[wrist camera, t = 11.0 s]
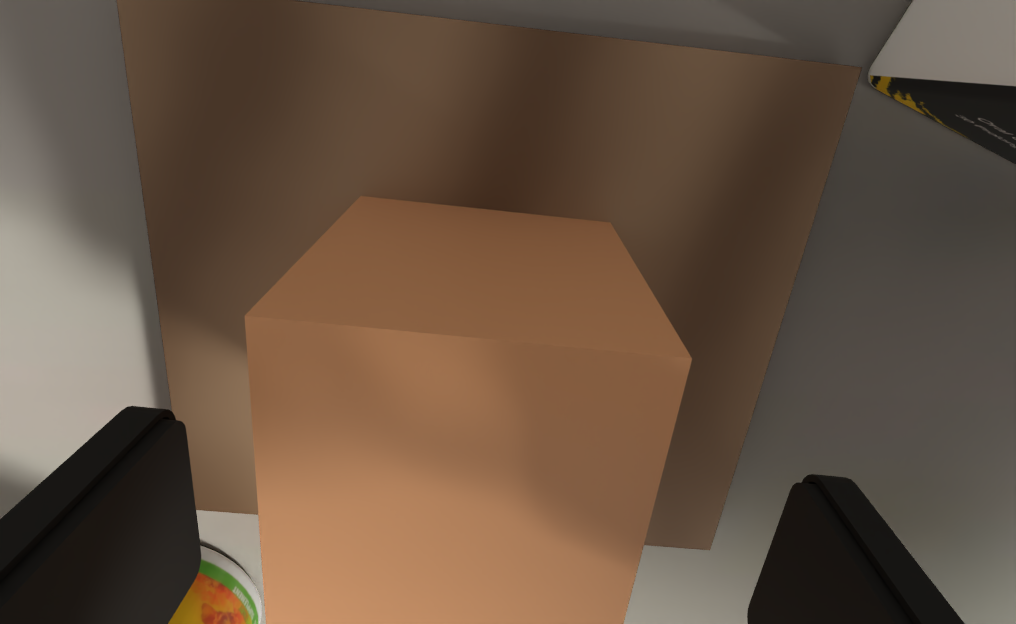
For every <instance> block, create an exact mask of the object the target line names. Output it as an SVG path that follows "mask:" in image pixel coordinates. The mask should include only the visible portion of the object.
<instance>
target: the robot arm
mask: <svg viewBox="0 0 1016 624" xmlns="http://www.w3.org/2000/svg"><path fill="white" fill-rule="evenodd" d="M200 564H201V547H200V539H199V531H198V523H197V514H196V506H195V498H194V490H193V481H192V473H191V465H190V457H189V448H188V440H187V432H186V427H185V424H184V423H183V422H182V421H178V420H176V418H175V415H174V414H173V412H172V411H170V410H166V409H156V408H146V407H136V406H130V407H126V408H125V409H123V410H122V411H121V412H120V413H118V414H117V415H116V416H115V417H114V418H113V419H112V420H111V421H109V422H108V423H107V424H106V425H105V426H104V427H103V428H102V429H101V430H99V431H98V432H97V433H96V434H95V435H94V436H93V437H92V438H91V439H89V440H88V441H87V442H86V443H85V444H84V445H83V446H82V447H80V448H79V449H78V450H77V451H76V452H75V453H74V454H73V455H72V456H70V457H69V458H68V459H67V460H66V461H65V462H64V463H63V464H61V465H60V466H59V467H58V468H57V469H56V470H55V471H54V472H53V473H51V474H50V475H49V476H48V477H47V478H46V479H45V480H44V481H43V482H41V483H40V484H39V485H38V486H37V487H36V488H35V489H34V490H32V491H31V492H30V493H29V494H28V495H27V496H26V497H25V498H24V499H22V500H21V501H20V502H19V503H18V504H17V505H16V506H15V507H13V508H12V509H11V510H10V511H9V512H8V513H7V514H6V515H5V516H3V517H2V518H1V519H0V624H168V623H169V621H170V620H171V618H172V617H173V615H174V613H175V612H176V610H177V609H178V607H179V605H180V604H181V602H182V600H183V599H184V597H185V596H186V594H187V592H188V591H189V589H190V587H191V586H192V584H193V583H194V581H195V579H196V577H197V574H198V572H199V568H200ZM747 617H748V624H964V622H963V621H962V620H961V619H960V617H959V616H958V615H957V613H956V612H955V611H954V610H953V608H952V607H951V606H950V604H949V603H948V602H947V601H946V599H945V598H944V597H943V595H942V594H941V593H940V592H939V590H938V589H937V588H936V586H935V585H934V584H933V583H932V581H931V580H930V579H929V577H928V576H927V575H926V574H925V572H924V571H923V570H922V568H921V567H920V566H919V565H918V563H917V562H916V561H915V559H914V558H913V557H912V556H911V554H910V553H909V552H908V550H907V549H906V548H905V547H904V545H903V544H902V543H901V541H900V540H899V539H898V538H897V536H896V535H895V534H894V532H893V531H892V530H891V529H890V527H889V526H888V525H887V523H886V522H885V521H884V520H883V518H882V517H881V516H880V514H879V513H878V512H877V511H876V509H875V508H874V507H873V505H872V504H871V503H870V502H869V500H868V499H867V498H866V496H865V495H864V494H863V493H862V491H861V490H860V489H859V487H858V486H857V485H856V484H855V483H854V482H853V481H852V480H851V479H848V478H844V477H834V476H825V475H815V474H811V475H807V476H806V477H805V478H804V479H803V481H802V483H795V484H794V485H793V486H792V488H791V490H790V493H789V496H788V499H787V501H786V504H785V507H784V510H783V513H782V515H781V518H780V521H779V524H778V526H777V529H776V532H775V535H774V537H773V540H772V543H771V546H770V549H769V551H768V554H767V557H766V560H765V562H764V565H763V568H762V571H761V574H760V576H759V579H758V582H757V585H756V587H755V590H754V593H753V596H752V598H751V601H750V604H749V608H748V616H747Z"/></svg>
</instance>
